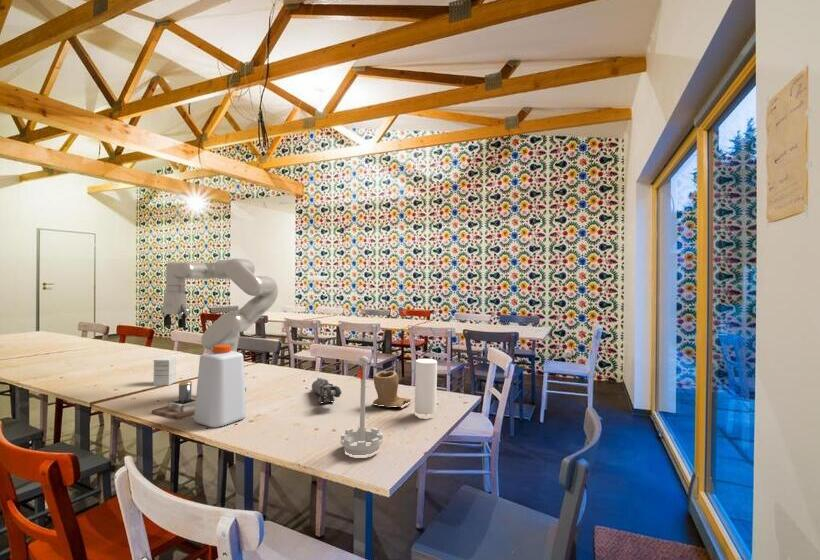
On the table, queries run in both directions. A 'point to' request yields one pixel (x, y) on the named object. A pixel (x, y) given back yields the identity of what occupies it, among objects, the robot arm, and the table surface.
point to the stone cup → (388, 389)
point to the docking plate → (177, 409)
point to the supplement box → (164, 371)
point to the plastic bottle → (220, 388)
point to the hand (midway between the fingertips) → (174, 326)
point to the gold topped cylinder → (185, 392)
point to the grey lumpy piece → (325, 390)
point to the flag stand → (361, 425)
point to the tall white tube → (425, 385)
